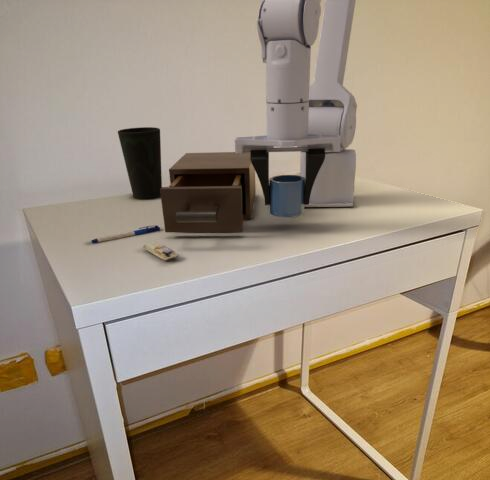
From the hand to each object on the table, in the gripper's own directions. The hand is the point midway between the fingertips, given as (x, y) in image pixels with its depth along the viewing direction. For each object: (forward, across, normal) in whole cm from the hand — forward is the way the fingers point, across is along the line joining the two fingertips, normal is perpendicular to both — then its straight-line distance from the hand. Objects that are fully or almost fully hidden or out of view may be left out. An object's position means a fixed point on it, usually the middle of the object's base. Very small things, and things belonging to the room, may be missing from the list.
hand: (286, 203), depth 69 cm
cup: (+4, -27, +21) cm, 34 cm away
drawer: (+3, -12, 0) cm, 12 cm away
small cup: (+1, 0, 0) cm, 1 cm away
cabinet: (+4, -12, +12) cm, 17 cm away
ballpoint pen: (+4, -24, -3) cm, 25 cm away
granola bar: (+4, -17, -11) cm, 21 cm away
